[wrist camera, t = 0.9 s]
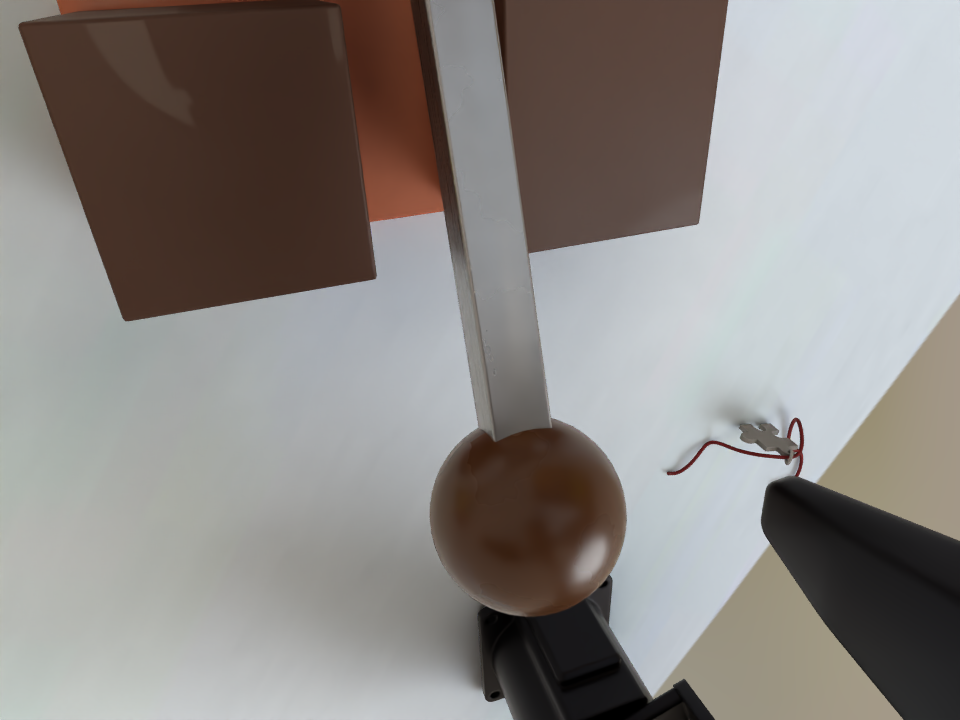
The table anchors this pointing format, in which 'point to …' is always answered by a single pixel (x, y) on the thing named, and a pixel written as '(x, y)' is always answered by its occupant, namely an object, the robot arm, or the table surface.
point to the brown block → (354, 131)
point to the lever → (504, 356)
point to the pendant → (763, 444)
